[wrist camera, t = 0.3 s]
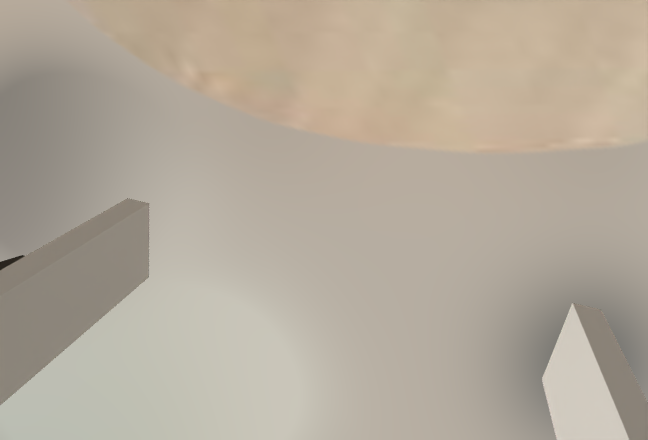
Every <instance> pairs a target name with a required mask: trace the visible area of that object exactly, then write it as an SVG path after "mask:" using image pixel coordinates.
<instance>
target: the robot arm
mask: <svg viewBox="0 0 648 440" xmlns="http://www.w3.org/2000/svg"><path fill="white" fill-rule="evenodd" d="M148 277H149V203H145V202H141V201H137V200H132V199H128V198H127V199H126V200H124V201H122V202H120V203H119V204H117V205H115V206H113V207H111V208H110V209H108V210H106V211H104V212H103V213H101V214H99V215H98V216H96V217H94V218H92V219H90V220H88V221H87V222H85V223H83V224H81V225H80V226H78V227H76V228H74V229H73V230H71V231H69V232H67V233H65V234H64V235H62V236H60V237H58V238H57V239H55V240H53V241H51V242H49V243H48V244H46V245H44V246H43V247H41V248H39V249H37V250H35V251H34V252H32V253H30V254H28V255H26V256H23V255H22V256H18V257H15V258H12V259H8V260H5V261H2V262H0V405H1V404H2V403H3V402H5V401H6V400H7V399H8V398H9V397H10V396H12V395H13V394H14V393H15V392H16V391H17V390H18V389H20V388H21V387H22V386H23V385H24V384H25V383H27V382H28V381H29V380H30V379H31V378H32V377H34V376H35V375H36V374H37V373H38V372H39V371H41V369H43V368H44V367H45V366H46V365H48V364H49V363H50V362H51V361H52V360H53V359H54V358H56V357H57V356H58V355H59V354H60V353H61V352H63V351H64V350H65V349H66V348H67V347H68V346H69V345H71V344H72V343H73V342H74V341H75V340H76V339H78V338H79V337H80V336H81V335H82V334H83V333H84V332H86V331H87V330H88V329H89V328H90V327H91V326H93V325H94V324H95V323H96V322H97V321H98V320H99V319H101V318H102V317H103V316H104V315H105V314H107V313H108V312H109V311H110V310H111V309H112V308H114V307H115V306H116V305H117V304H118V303H119V302H120V301H122V300H123V299H124V298H125V297H126V296H127V295H129V294H130V293H131V292H132V291H133V290H134V289H136V288H137V287H138V286H139V285H140V284H141V283H143V282H144V281H145V280H146V279H147V278H148ZM542 381H543V385H544V389H545V393H546V398H547V402H548V405H549V410H550V414H551V418H552V422H553V426H554V430H555V434H556V438H557V440H648V402H647V400H646V398H645V396H644V394H643V392H642V390H641V388H640V386H639V384H638V383H637V380H636V378H635V376H634V374H633V372H632V370H631V368H630V366H629V364H628V362H627V360H626V358H625V356H624V354H623V352H622V350H621V349H620V346H619V344H618V342H617V340H616V338H615V336H614V334H613V333H612V331H611V328H610V327H609V325H608V323H607V321H606V319H605V316H604V315H603V313H602V311H601V310H600V309H596V308H592V307H587V306H583V305H579V304H575V303H573V304H572V306H571V308H570V311H569V313H568V316H567V318H566V321H565V323H564V326H563V328H562V331H561V333H560V336H559V338H558V341H557V343H556V346H555V348H554V351H553V353H552V356H551V358H550V361H549V364H548V366H547V368H546V371H545V373H544V376H543V378H542Z"/></svg>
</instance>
